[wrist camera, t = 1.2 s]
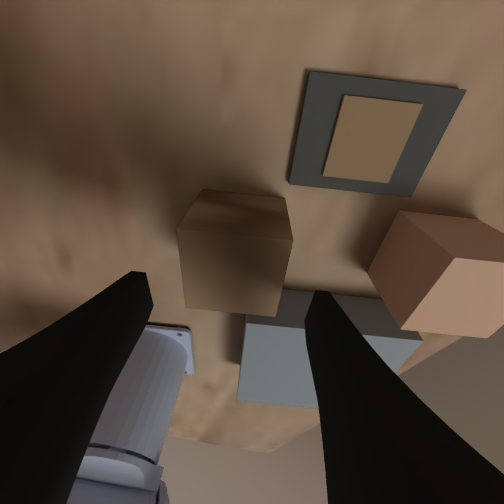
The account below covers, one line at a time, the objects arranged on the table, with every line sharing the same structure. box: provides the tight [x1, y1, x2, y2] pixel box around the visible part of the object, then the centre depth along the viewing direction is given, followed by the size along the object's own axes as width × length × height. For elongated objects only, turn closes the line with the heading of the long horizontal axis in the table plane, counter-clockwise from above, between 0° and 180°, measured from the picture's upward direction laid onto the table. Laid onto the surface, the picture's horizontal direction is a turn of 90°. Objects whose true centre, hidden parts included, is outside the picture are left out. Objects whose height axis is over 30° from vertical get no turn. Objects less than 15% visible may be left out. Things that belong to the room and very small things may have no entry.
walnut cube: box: [176, 189, 293, 317], centre depth 13 cm, size 5×5×5 cm
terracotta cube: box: [367, 210, 504, 338], centre depth 13 cm, size 5×5×5 cm
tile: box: [288, 71, 466, 197], centre depth 11 cm, size 7×5×1 cm
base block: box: [237, 289, 423, 409], centre depth 20 cm, size 12×12×4 cm
